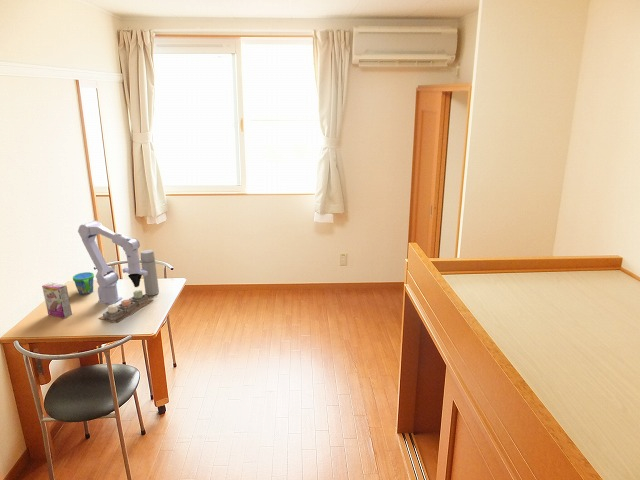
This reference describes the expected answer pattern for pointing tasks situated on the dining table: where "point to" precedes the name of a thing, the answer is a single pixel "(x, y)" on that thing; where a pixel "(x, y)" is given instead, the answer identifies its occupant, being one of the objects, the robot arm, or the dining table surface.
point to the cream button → (112, 309)
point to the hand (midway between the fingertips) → (137, 286)
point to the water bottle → (149, 272)
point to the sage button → (138, 295)
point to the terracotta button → (126, 303)
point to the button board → (126, 309)
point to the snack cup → (84, 282)
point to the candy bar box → (57, 300)
